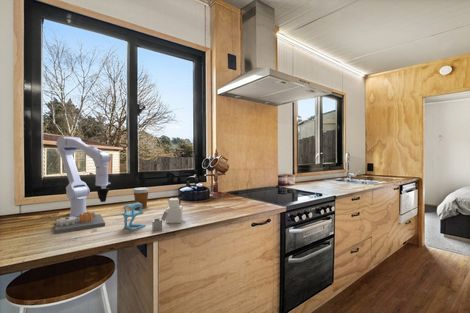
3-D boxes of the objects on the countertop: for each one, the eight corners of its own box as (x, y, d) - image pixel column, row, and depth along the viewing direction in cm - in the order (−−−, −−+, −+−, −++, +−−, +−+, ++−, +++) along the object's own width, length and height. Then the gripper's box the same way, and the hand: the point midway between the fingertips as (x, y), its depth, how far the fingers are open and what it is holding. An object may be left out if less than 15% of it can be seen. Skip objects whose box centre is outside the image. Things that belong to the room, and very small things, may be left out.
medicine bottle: (168, 218, 125) (168, 196, 125) (182, 218, 126) (182, 196, 126) (166, 223, 118) (166, 199, 118) (180, 223, 119) (180, 199, 119)
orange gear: (79, 219, 117) (79, 212, 117) (92, 217, 120) (92, 211, 120) (80, 222, 112) (79, 215, 112) (93, 220, 116) (93, 213, 116)
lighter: (153, 230, 107) (153, 213, 107) (152, 229, 109) (152, 212, 108) (168, 228, 111) (168, 211, 111) (167, 227, 113) (167, 210, 112)
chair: (133, 224, 117) (133, 200, 116) (145, 226, 113) (145, 201, 113) (119, 228, 110) (119, 203, 109) (132, 231, 106) (132, 205, 106)
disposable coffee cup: (140, 210, 142) (140, 190, 142) (129, 208, 147) (129, 189, 146) (152, 206, 151) (152, 188, 151) (141, 204, 155) (141, 186, 155)
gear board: (56, 222, 117) (56, 214, 116) (100, 216, 128) (100, 208, 128) (55, 233, 102) (55, 223, 102) (105, 225, 113) (105, 216, 113)
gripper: (112, 175, 121) (112, 202, 122) (108, 173, 133) (108, 197, 134) (96, 176, 117) (97, 203, 118) (93, 174, 129) (94, 198, 129)
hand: (102, 200), depth 125 cm, fingers open, 7 cm apart
